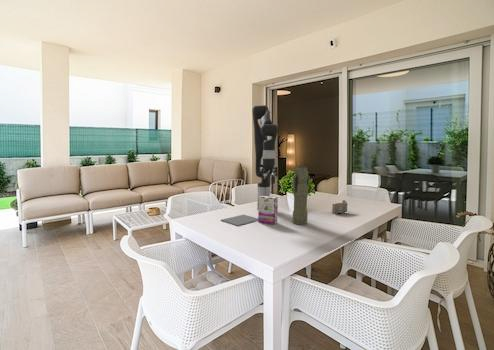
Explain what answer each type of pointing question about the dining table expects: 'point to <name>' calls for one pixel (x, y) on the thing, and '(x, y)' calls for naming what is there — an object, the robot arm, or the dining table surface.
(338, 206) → the architectural model on board
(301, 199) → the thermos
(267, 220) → the candy bar box
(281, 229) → the dining table surface
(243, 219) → the mat
